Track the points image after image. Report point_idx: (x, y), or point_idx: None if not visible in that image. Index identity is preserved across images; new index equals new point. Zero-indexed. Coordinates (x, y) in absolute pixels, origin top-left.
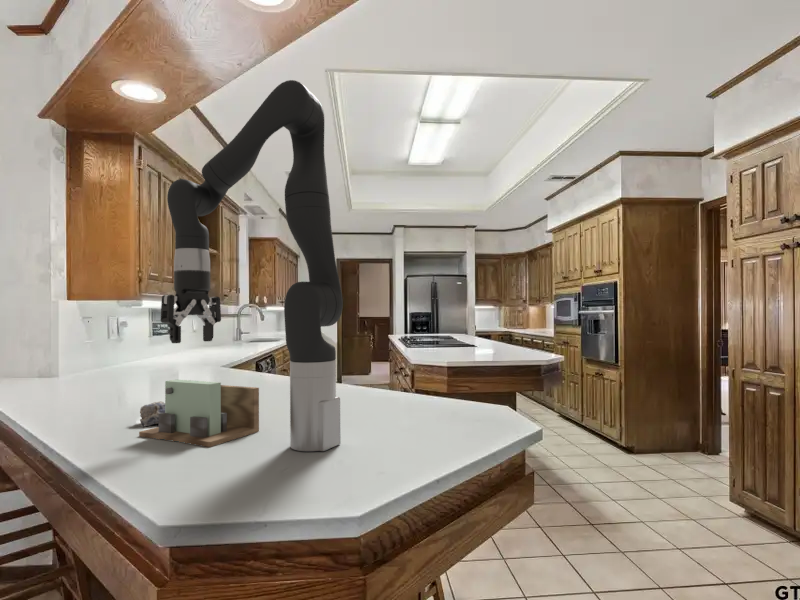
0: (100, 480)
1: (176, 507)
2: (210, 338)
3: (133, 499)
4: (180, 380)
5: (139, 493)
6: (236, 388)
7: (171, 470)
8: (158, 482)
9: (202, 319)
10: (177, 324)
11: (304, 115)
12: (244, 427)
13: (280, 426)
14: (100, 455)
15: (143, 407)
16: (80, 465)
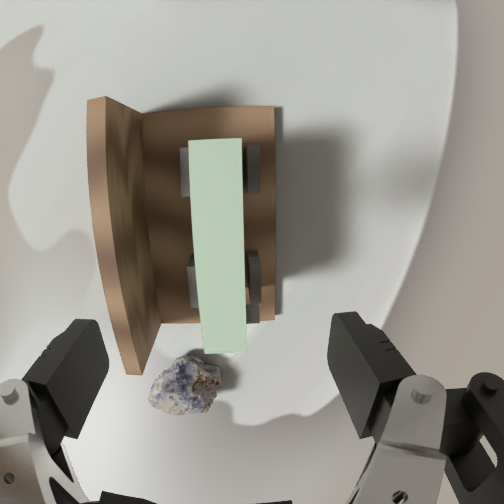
0: (445, 138)
1: (439, 3)
2: (85, 322)
3: (453, 53)
4: (214, 324)
5: (444, 57)
6: (108, 172)
7: (389, 74)
8: (420, 59)
9: (71, 472)
10: (420, 380)
11: None
12: (144, 141)
13: (82, 114)
14: (382, 254)
15: (205, 407)
16: (421, 229)
